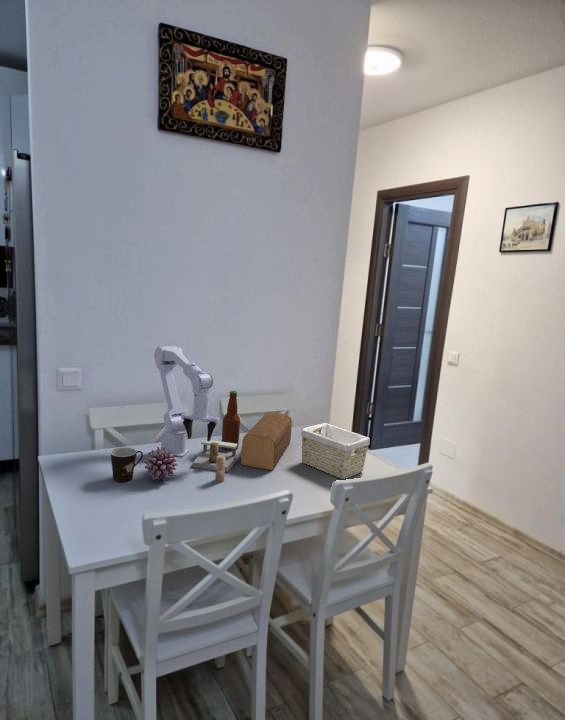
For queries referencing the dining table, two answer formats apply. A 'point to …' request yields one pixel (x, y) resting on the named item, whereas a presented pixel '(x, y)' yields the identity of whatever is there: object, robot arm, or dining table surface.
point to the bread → (266, 441)
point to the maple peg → (220, 468)
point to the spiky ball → (160, 463)
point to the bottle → (231, 422)
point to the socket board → (203, 458)
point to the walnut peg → (213, 452)
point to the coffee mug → (123, 463)
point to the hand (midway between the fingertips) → (199, 439)
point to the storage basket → (334, 450)
